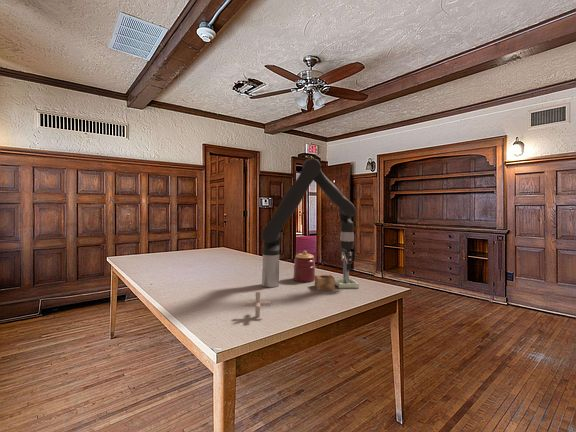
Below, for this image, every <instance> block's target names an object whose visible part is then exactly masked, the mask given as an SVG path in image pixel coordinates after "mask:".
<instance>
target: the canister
mask: <svg viewBox="0 0 576 432" xmlns="http://www.w3.org/2000/svg"><path fill="white" fill-rule="evenodd" d="M293 261H294V264H293V280H294V281H295V282H300V283H311V282H315V275H316V265H315V263H316V259H315V256H314V255H313V254H311V253H308V251H307V250H303V251H302V253H297V254H296V255H295V258H294V259H293Z"/></svg>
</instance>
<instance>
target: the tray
mask: <svg viewBox="0 0 576 432" xmlns="http://www.w3.org/2000/svg"><path fill="white" fill-rule="evenodd" d="M335 287H337V288H338V289H341V290H342V289H343V290H344V289H345V290H347V289H359V287H360V285H359V282H357V281H356V280H354V279H353V278H349V284H343V278H335Z"/></svg>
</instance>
